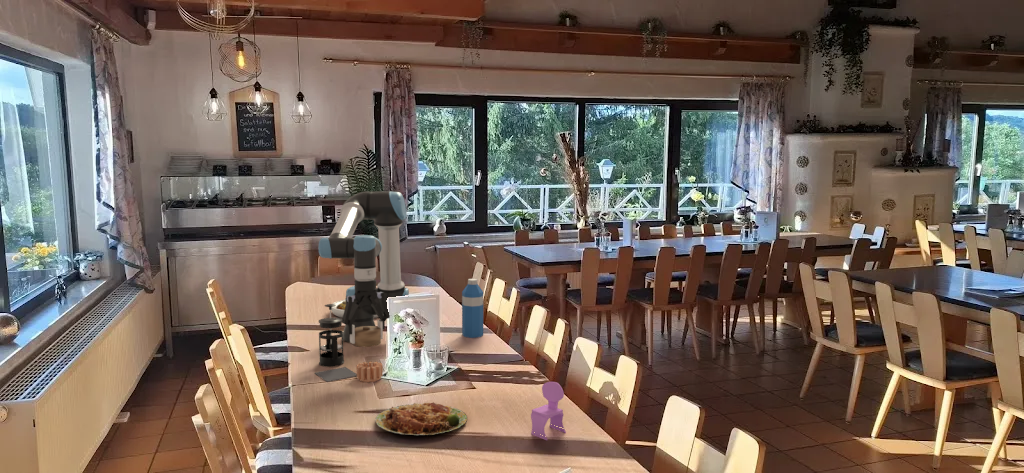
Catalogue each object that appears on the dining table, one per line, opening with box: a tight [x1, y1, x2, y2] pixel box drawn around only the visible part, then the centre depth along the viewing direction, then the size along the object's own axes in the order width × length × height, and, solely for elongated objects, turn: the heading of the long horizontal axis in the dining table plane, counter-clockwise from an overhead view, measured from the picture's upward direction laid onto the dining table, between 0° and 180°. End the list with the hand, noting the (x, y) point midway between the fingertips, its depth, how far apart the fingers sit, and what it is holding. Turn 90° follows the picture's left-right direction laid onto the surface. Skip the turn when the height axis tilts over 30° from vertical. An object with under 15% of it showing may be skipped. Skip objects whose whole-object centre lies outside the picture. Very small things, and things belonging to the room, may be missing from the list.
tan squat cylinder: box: [351, 326, 382, 348], centre depth 259 cm, size 10×10×6 cm
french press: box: [318, 303, 345, 368], centre depth 277 cm, size 12×9×23 cm
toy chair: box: [530, 381, 566, 441], centre depth 211 cm, size 8×9×15 cm
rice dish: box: [375, 402, 468, 436], centre depth 220 cm, size 28×28×5 cm
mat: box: [314, 366, 357, 383], centre depth 265 cm, size 12×12×1 cm
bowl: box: [331, 299, 379, 319], centre depth 361 cm, size 30×30×8 cm
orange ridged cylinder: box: [356, 360, 384, 383], centre depth 261 cm, size 9×9×5 cm
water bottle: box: [461, 278, 484, 339], centre depth 319 cm, size 9×9×25 cm
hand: (366, 340), depth 259 cm, fingers closed on tan squat cylinder, 10 cm apart
